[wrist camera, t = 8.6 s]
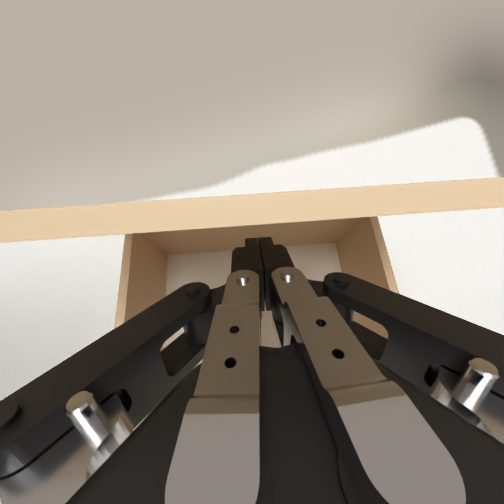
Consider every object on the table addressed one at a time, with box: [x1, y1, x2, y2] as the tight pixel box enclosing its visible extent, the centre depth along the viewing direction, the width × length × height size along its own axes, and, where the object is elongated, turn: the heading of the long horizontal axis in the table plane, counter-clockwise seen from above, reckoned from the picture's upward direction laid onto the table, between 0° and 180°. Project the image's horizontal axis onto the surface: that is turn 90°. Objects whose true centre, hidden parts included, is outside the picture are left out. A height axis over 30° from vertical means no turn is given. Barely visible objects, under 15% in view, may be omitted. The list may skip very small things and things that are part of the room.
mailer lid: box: [0, 177, 504, 243], centre depth 11 cm, size 21×14×1 cm
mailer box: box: [115, 216, 399, 428], centre depth 20 cm, size 20×14×8 cm
